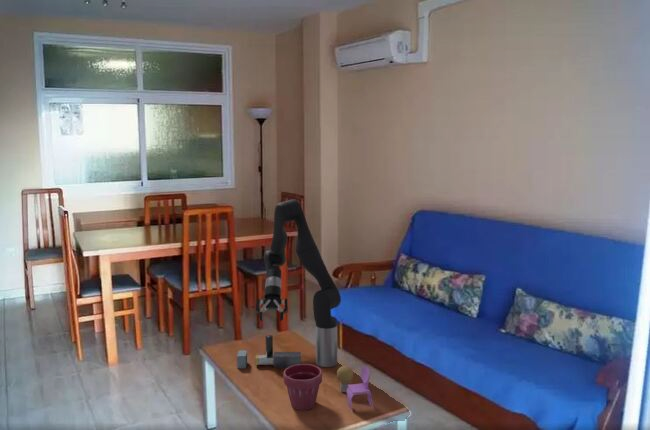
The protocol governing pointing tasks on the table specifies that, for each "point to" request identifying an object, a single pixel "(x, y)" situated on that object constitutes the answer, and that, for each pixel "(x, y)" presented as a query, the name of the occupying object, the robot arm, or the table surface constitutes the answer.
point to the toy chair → (360, 387)
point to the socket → (242, 359)
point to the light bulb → (344, 377)
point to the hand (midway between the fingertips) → (271, 320)
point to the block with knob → (269, 355)
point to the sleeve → (286, 359)
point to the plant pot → (303, 385)
